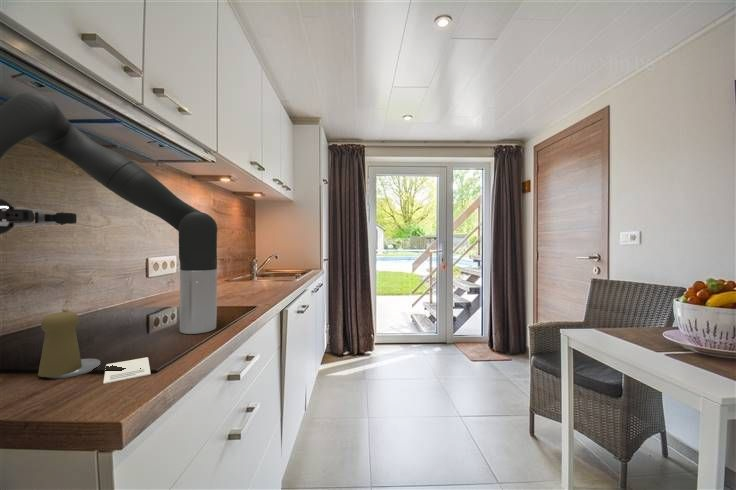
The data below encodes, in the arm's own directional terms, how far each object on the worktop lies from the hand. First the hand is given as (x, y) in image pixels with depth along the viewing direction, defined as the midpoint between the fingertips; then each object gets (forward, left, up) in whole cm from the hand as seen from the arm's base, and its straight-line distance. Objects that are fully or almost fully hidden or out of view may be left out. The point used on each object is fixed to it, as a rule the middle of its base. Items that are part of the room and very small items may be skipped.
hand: (54, 217), depth 62 cm
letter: (+9, +12, -30) cm, 33 cm away
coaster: (+3, +3, -30) cm, 30 cm away
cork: (+4, +1, -30) cm, 30 cm away
